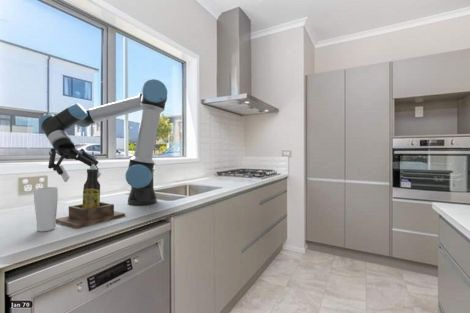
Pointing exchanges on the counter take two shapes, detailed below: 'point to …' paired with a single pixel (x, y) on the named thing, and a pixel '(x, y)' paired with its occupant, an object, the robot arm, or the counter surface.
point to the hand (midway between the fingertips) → (83, 177)
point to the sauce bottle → (91, 190)
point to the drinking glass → (46, 208)
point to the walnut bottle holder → (89, 215)
